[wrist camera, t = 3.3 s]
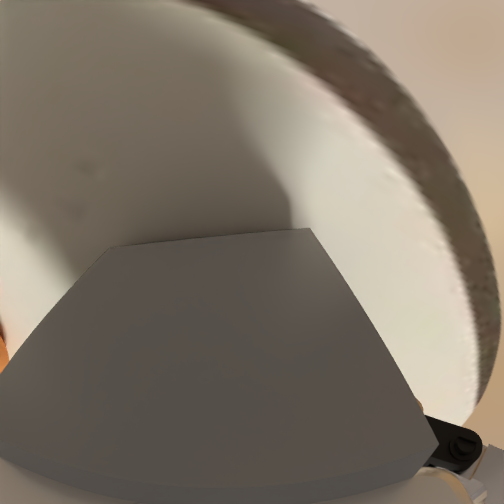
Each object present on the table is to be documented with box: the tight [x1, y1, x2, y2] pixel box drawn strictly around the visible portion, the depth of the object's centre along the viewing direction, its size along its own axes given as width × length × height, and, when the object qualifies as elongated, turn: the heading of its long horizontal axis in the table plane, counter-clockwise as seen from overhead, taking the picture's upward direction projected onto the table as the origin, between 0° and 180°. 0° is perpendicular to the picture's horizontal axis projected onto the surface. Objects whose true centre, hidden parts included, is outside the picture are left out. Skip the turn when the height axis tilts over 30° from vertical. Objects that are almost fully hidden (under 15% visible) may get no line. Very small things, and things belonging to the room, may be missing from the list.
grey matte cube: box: [0, 228, 439, 504], centre depth 8 cm, size 8×8×9 cm
